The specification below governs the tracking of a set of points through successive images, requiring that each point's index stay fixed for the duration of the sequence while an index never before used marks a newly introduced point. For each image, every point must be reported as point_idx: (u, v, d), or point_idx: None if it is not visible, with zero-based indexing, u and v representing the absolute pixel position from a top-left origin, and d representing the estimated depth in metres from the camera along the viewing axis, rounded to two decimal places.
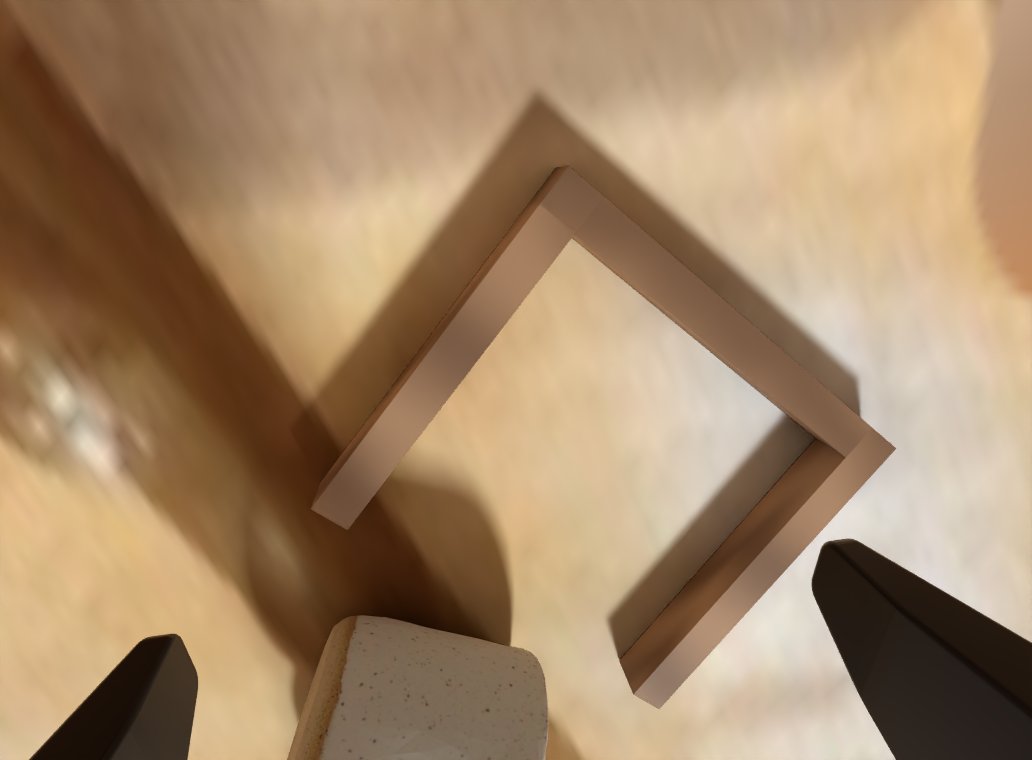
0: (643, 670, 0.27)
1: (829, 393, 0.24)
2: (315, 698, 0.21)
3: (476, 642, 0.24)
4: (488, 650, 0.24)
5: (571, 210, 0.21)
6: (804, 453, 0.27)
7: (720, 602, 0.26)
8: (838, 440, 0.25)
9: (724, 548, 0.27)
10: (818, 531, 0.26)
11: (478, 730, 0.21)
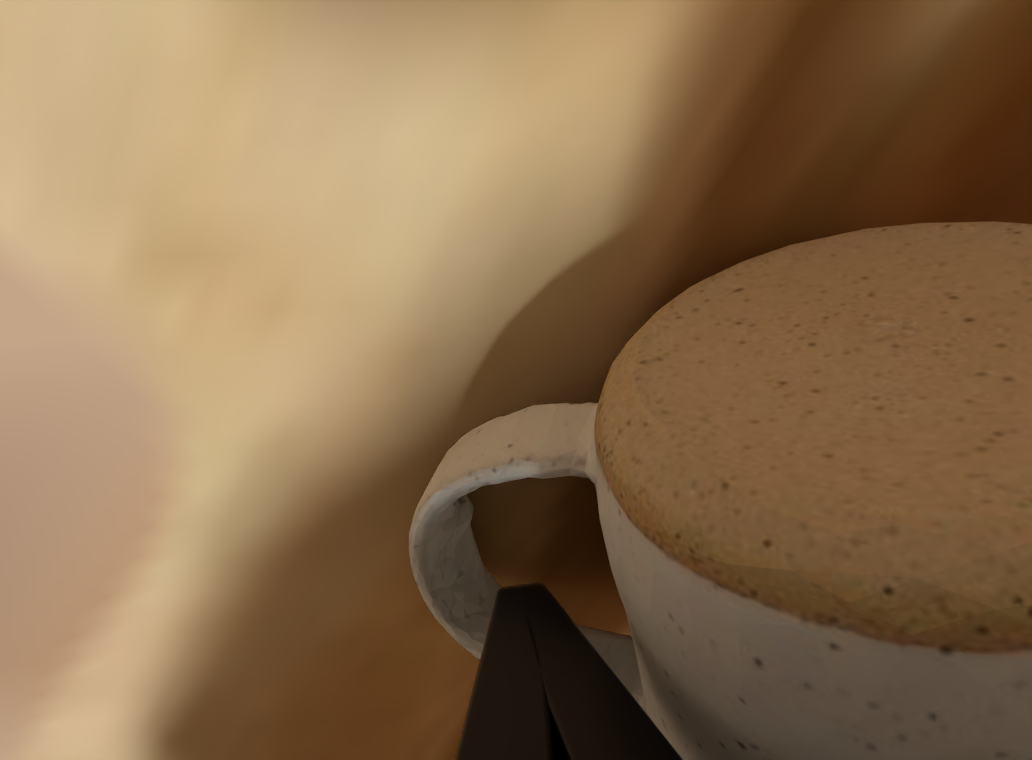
0: None
1: None
2: None
3: None
4: None
5: None
6: None
7: None
8: None
9: None
10: None
11: None
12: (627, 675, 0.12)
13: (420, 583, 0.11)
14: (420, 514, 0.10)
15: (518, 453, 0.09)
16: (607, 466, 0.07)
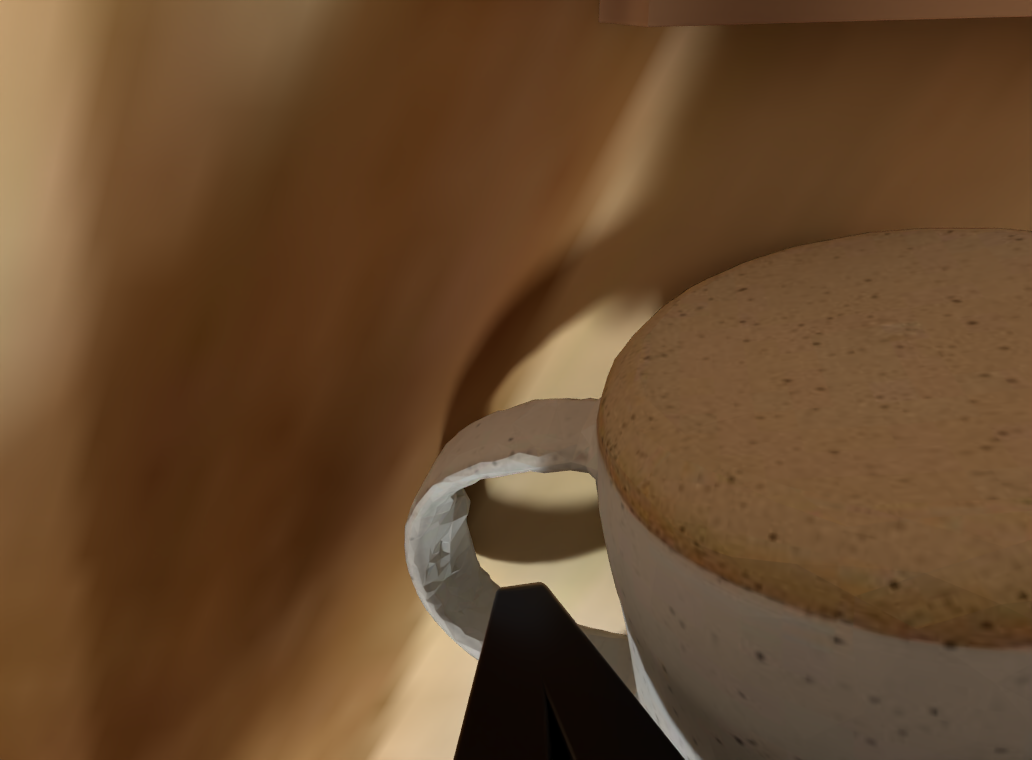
0: None
1: None
2: None
3: None
4: None
5: None
6: None
7: None
8: None
9: None
10: None
11: None
12: (619, 673, 0.12)
13: (415, 576, 0.11)
14: (418, 506, 0.10)
15: (519, 446, 0.09)
16: (610, 460, 0.07)
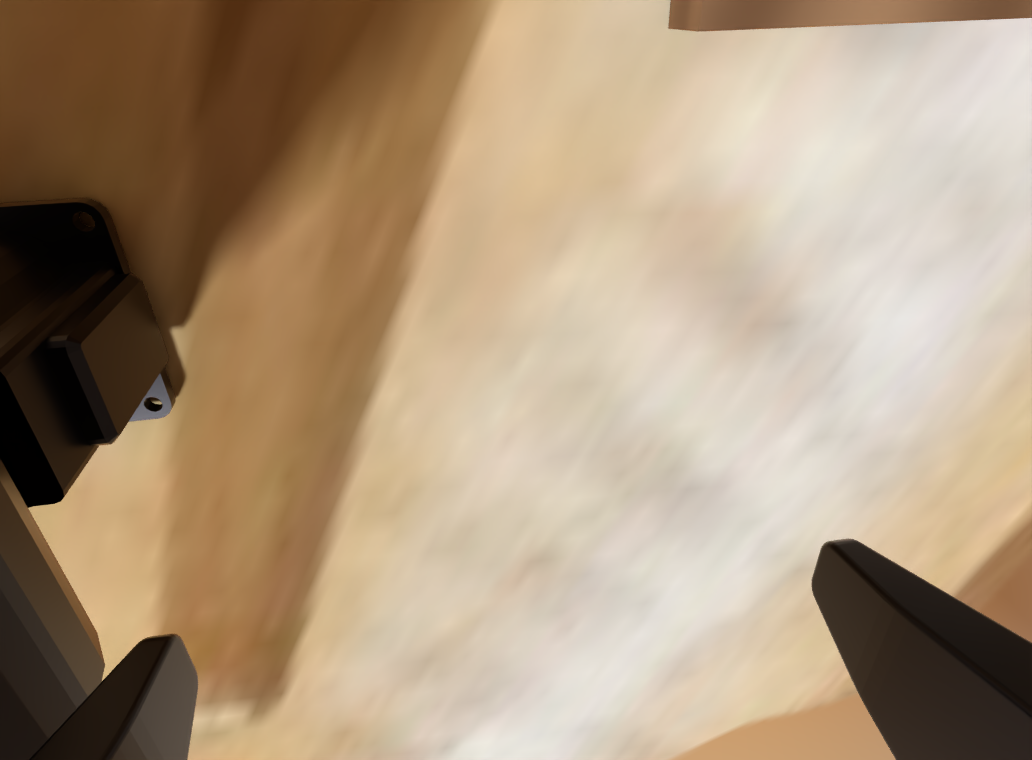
0: None
1: None
2: None
3: None
4: None
5: None
6: None
7: None
8: None
9: None
10: None
11: None
12: None
13: None
14: None
15: None
16: None
